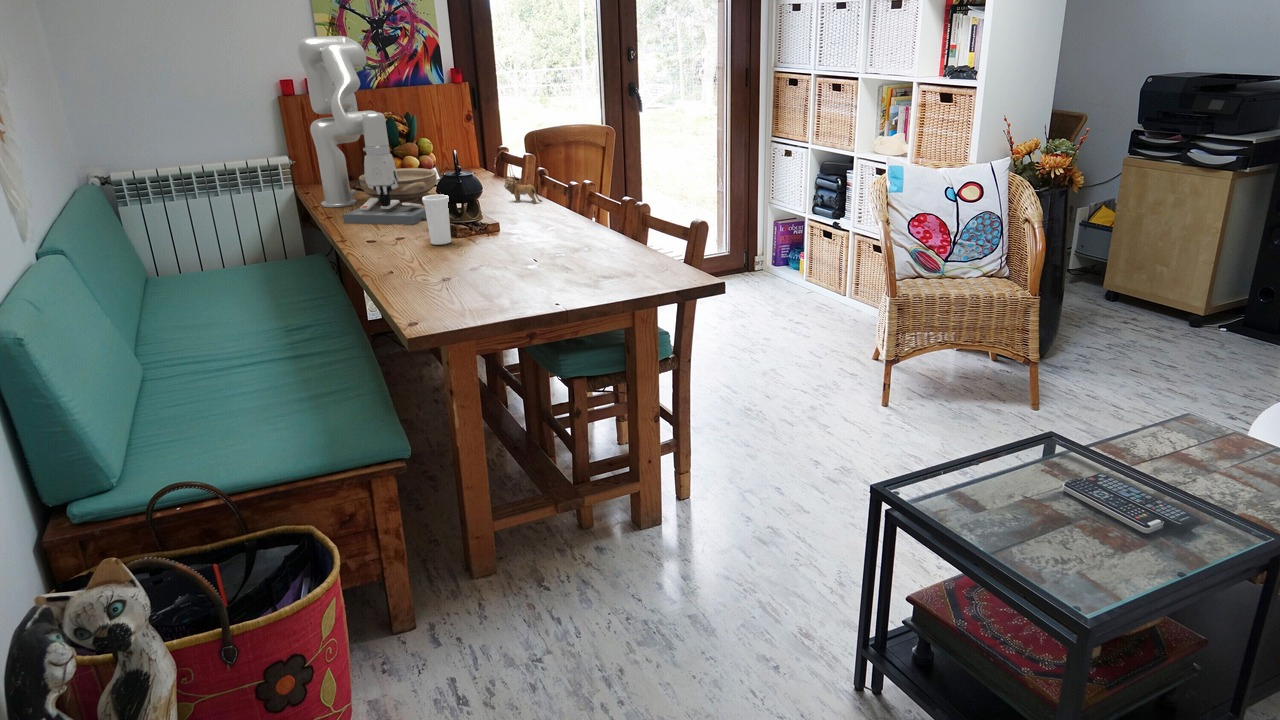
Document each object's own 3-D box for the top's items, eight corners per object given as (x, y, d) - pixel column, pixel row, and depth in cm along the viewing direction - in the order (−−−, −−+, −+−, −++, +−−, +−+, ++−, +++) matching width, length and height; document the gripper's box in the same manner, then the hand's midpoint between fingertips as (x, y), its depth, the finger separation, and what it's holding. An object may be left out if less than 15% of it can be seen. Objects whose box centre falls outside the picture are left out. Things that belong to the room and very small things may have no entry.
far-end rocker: (370, 200, 306) (370, 197, 305) (378, 200, 305) (377, 197, 304) (360, 209, 300) (359, 207, 299) (368, 210, 299) (367, 207, 298)
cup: (448, 246, 261) (442, 199, 256) (423, 246, 263) (417, 199, 258) (458, 240, 269) (453, 194, 263) (434, 239, 270) (428, 194, 265)
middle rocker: (391, 202, 304) (391, 199, 304) (399, 202, 303) (399, 199, 303) (381, 208, 298) (380, 206, 297) (388, 208, 297) (388, 206, 296)
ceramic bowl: (346, 199, 336) (342, 173, 332) (415, 189, 352) (412, 164, 349) (384, 214, 309) (380, 185, 305) (457, 202, 325) (454, 175, 321)
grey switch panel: (365, 214, 309) (364, 205, 308) (447, 216, 302) (446, 207, 301) (344, 223, 297) (342, 214, 296) (429, 225, 289) (428, 216, 288)
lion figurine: (503, 203, 320) (501, 178, 317) (509, 200, 325) (507, 176, 322) (539, 204, 316) (538, 179, 313) (545, 201, 321) (543, 177, 317)
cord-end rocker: (413, 206, 303) (413, 203, 303) (420, 206, 302) (420, 203, 302) (402, 205, 295) (402, 202, 295) (410, 205, 295) (410, 202, 295)
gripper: (352, 152, 289) (360, 207, 296) (392, 152, 285) (400, 207, 292) (364, 149, 296) (372, 203, 302) (403, 149, 292) (410, 203, 299)
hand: (385, 205), depth 297 cm, fingers closed
